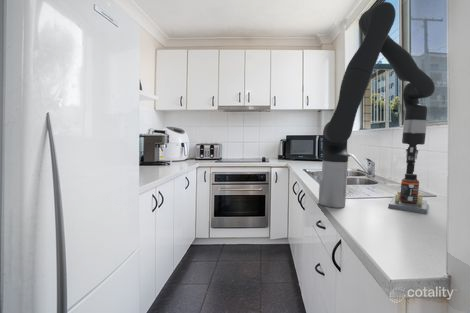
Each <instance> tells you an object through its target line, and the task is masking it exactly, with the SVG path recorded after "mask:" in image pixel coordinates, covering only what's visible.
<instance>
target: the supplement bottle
mask: <svg viewBox="0 0 470 313" xmlns="http://www.w3.org/2000/svg"><path fill="white" fill-rule="evenodd" d="M419 187H420V180H418V175H417V174H415V173H413V174H407V173H406V172H405V174H404V178H402V179H401V186H400V192H401V194H400V201H402V202H405V203H413V204H414V203H417V201H418V195H419V189H420V188H419Z"/></svg>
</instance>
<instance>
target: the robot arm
mask: <svg viewBox="0 0 470 313" xmlns="http://www.w3.org/2000/svg"><path fill="white" fill-rule="evenodd" d="M396 15H397V14H396V9H395V6H394V5H393V3H391V2H388V1H384V2H380V3H377V4H376V5H374V6H373V7H371V8H369V9H368V10H365V11H364V12H363V13H362V14H361V15H360V18H359V21H358V25H359V29H360V31H361V32H362V33H363V35H364V38H363V41H362V43H361V44H360V45H359V47H358V49H357V50H356V51H355V53H354V54H353V56H352V57H351V59H350V60H349V62H348V63H347V66H346V68H345V70H344V71H345V72H344V74H343V77H342V80H341V83H340V88H339V93H338V94H339V95H338V101H337V105H336V108H335V111H334V112H333V115H332V116H331V118H330V121H329V122H327V123H326V124H325V125H324V127H323V131H322V148H321V149H322V150H321V151H322V165H321V167H322V168H321V179H320V180H319V187H318V205H321V206H324V207H327V208H337V209H340V208H342V209H343V208H345V207H346V201H347V200H346V199H347V186H348V184H347V182H348V167H349V154H348V140H349V139H350V138H351V135H352V132H353V128H354V124H355V120H356V117H357V113H358V111H359V110H358V109H359V107H360V105H361V102H362V101H363V99H364V96H365V93H366V91H367V89H368V86H369V85H370V81H371V79H372V75H373V73H374V69H375V67H376V64H377V62H378V60H379V57H380V54H381V55H382V56H383V57H384V59H385V60H386V61H387V62H388V64H389V66H390V67H391V69H392V70H393V72H394V73H395V75H396V77H397V78H398V79H399V81H401V82H407V83H406V84H405V85H404V87H403V90H402V99H403V103H404V108H405V113H404V122H403V127H402V137H401V143H402V144H403V145H404V144H405V145H408V147H407V148H406V149H405V154H406V155H405V159H406V160H405V161H406V169H405V170H406V172H405V174H406V173H407V174H414V171H415V166H416V165H415V164H416V162H417V160H418V154H419V149H418V148H417V146H418V145H419V146H420V145H425V143H426V136H427V135H426V134H427V116H428V106H426V105H424V104H420V101H419V99H426V98H429V97H431V96H432V95H433V94H434V93H435V89H436V86H435V83H434V81H433V79H432V78H431V77H430V76H429V75H428V74H427V73H425V72H424V71H423V70H422V69H421V68H420V67H419V66H418V65H417V63H416V61H415V59H414V58H413V56H412V55H411V54H410V52H409V51H408V50H407V49H406V48H404V47H403V46H401V45H400V44H399V43H397V42H396V41H394V39H393V38H391V36H390V35H389V34H390V31H391V29H392V27H393V26H394V22H395V20H396Z"/></svg>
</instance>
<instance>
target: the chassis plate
mask: <svg viewBox="0 0 470 313" xmlns="http://www.w3.org/2000/svg"><path fill="white" fill-rule="evenodd" d="M400 194H401V191H397V194H395V195H393V197H392V198H391V200H390V201H389V203H388V209H393V210H394V209H395V210H401V211H407V212H415V213H419V214H427V210H428V209H427V208H428V200H425V199H424V198H423V196H424V195H423V194H422V193H421V194H419V193H418V201H417V203H414V204H413V203H405V202H402V201H400Z"/></svg>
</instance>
